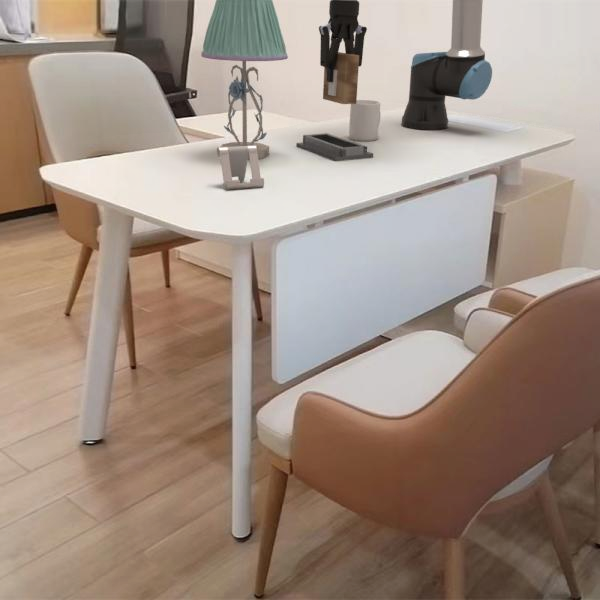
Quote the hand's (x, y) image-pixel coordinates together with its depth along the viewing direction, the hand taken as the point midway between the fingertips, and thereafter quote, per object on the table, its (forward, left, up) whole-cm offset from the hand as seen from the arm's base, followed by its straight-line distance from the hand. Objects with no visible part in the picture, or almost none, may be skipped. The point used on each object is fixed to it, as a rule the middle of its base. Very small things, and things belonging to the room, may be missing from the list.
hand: (339, 94), depth 195 cm
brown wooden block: (0, 0, -2) cm, 2 cm away
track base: (+1, 0, -15) cm, 15 cm away
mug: (-19, -13, -15) cm, 28 cm away
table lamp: (+25, -6, -15) cm, 30 cm away
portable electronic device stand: (+40, +22, -15) cm, 48 cm away
